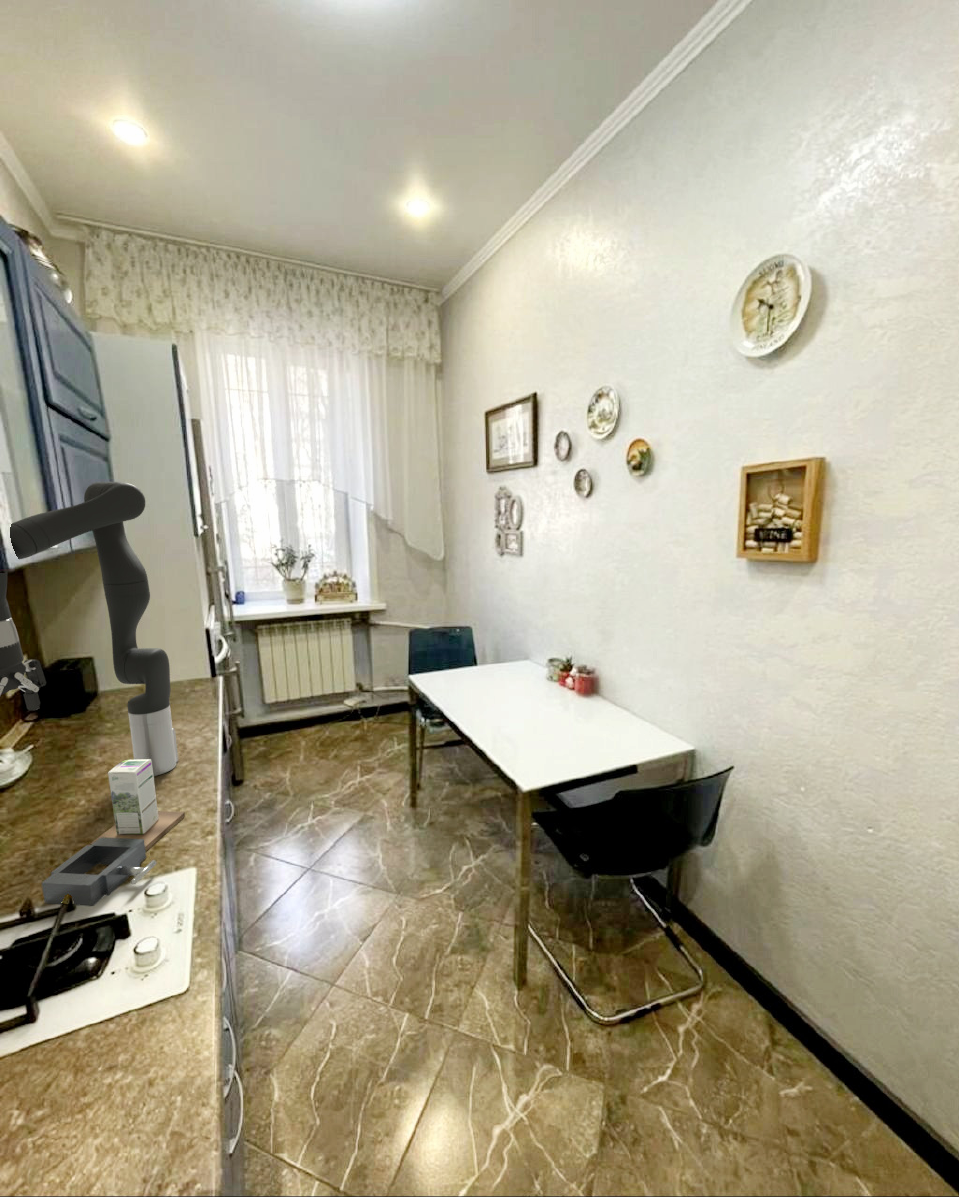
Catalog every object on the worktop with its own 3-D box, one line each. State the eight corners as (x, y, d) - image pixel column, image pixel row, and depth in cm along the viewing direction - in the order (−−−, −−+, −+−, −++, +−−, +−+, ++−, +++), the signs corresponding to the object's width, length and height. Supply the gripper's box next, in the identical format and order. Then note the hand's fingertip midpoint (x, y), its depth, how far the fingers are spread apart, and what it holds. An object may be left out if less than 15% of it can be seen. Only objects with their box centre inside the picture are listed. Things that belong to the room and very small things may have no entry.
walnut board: (134, 814, 113) (134, 810, 113) (184, 816, 112) (184, 812, 112) (90, 848, 101) (89, 844, 101) (145, 851, 100) (145, 847, 100)
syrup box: (160, 819, 109) (152, 757, 107) (143, 835, 104) (135, 771, 101) (133, 819, 109) (126, 758, 107) (115, 836, 103) (106, 771, 101)
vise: (100, 855, 99) (97, 837, 99) (171, 858, 98) (169, 840, 97) (40, 903, 87) (37, 882, 86) (121, 907, 86) (118, 887, 85)
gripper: (-30, 655, 90) (-7, 736, 94) (44, 632, 104) (62, 703, 108) (-66, 655, 91) (-42, 736, 95) (12, 632, 105) (31, 703, 108)
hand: (13, 718), depth 101 cm, fingers open, 8 cm apart
